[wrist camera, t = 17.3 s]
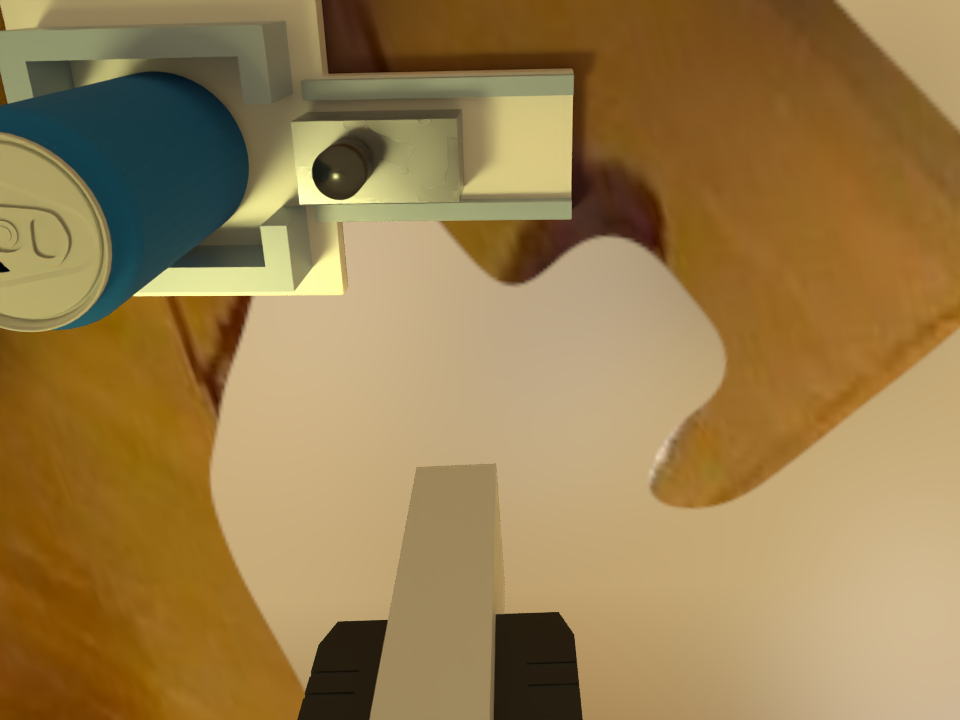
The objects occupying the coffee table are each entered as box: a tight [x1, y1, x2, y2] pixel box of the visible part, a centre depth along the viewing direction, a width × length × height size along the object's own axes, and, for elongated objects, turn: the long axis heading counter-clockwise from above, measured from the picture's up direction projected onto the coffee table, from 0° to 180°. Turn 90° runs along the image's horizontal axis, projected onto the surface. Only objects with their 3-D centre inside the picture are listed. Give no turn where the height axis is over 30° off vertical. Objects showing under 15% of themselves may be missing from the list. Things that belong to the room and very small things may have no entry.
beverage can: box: [0, 71, 249, 332], centre depth 29 cm, size 6×6×12 cm
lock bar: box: [291, 109, 464, 204], centre depth 32 cm, size 6×3×4 cm, turn 92°
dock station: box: [0, 0, 574, 296], centre depth 33 cm, size 22×12×4 cm, turn 92°
